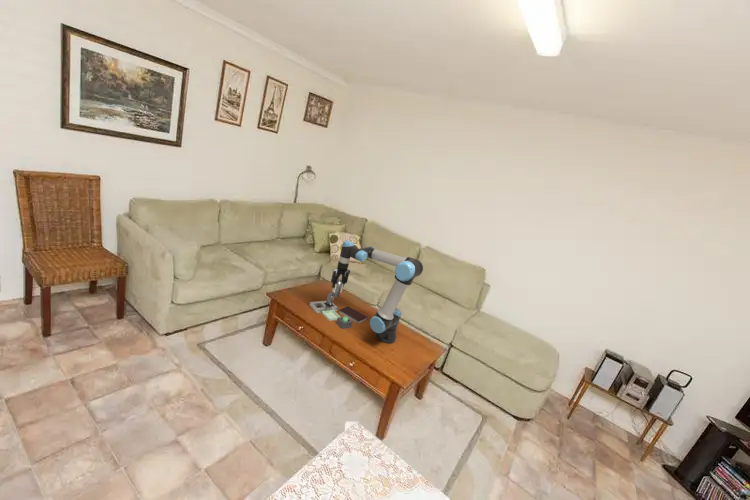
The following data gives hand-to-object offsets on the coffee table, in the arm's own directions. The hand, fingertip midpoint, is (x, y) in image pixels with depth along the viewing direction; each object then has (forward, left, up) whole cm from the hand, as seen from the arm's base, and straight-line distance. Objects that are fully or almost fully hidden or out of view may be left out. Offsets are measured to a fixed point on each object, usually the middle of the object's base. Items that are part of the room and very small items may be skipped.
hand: (336, 291), depth 252 cm
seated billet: (+12, -5, -21) cm, 25 cm away
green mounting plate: (0, 0, -21) cm, 21 cm away
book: (-3, -18, -21) cm, 28 cm away
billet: (0, 0, -3) cm, 3 cm away
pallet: (+12, 0, -21) cm, 24 cm away
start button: (-14, -3, -19) cm, 24 cm away
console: (-14, -3, -21) cm, 25 cm away
